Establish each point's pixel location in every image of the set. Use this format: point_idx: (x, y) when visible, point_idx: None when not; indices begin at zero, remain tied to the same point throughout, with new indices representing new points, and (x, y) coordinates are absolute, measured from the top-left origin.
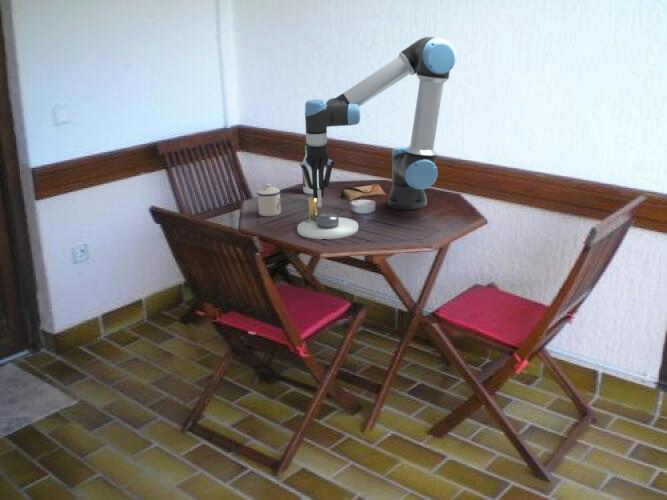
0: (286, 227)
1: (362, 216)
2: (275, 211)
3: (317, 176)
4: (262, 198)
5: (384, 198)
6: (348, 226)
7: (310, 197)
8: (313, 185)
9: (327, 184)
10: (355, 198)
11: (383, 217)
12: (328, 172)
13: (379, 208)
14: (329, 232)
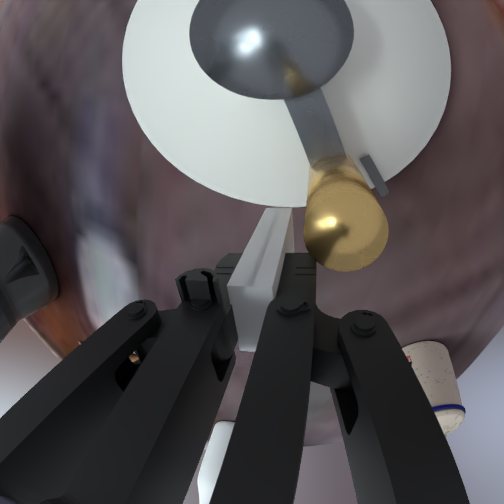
0: (460, 185)
1: (103, 201)
2: (418, 353)
3: (213, 454)
4: (460, 398)
5: (76, 325)
6: (171, 10)
7: (354, 267)
8: (311, 366)
9: (123, 319)
10: (134, 357)
11: (52, 167)
12: (23, 433)
13: (69, 262)
14: None
